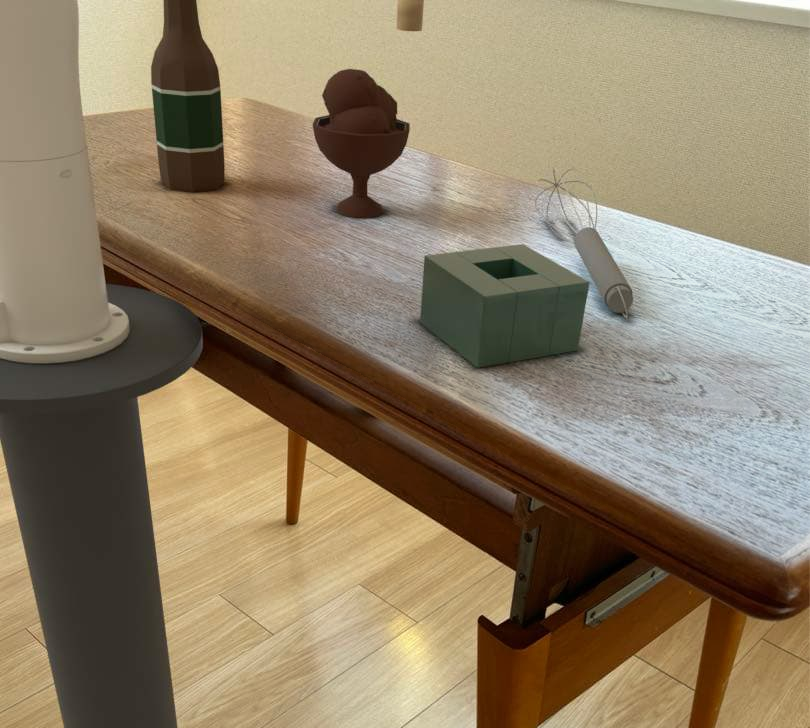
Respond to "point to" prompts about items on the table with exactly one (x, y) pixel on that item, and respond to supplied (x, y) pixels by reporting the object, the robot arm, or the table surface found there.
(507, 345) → the holder
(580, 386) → the table surface
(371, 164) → the ice cream bowl
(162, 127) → the beer bottle
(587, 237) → the kitchen whisk
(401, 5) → the stick
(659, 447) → the table surface
